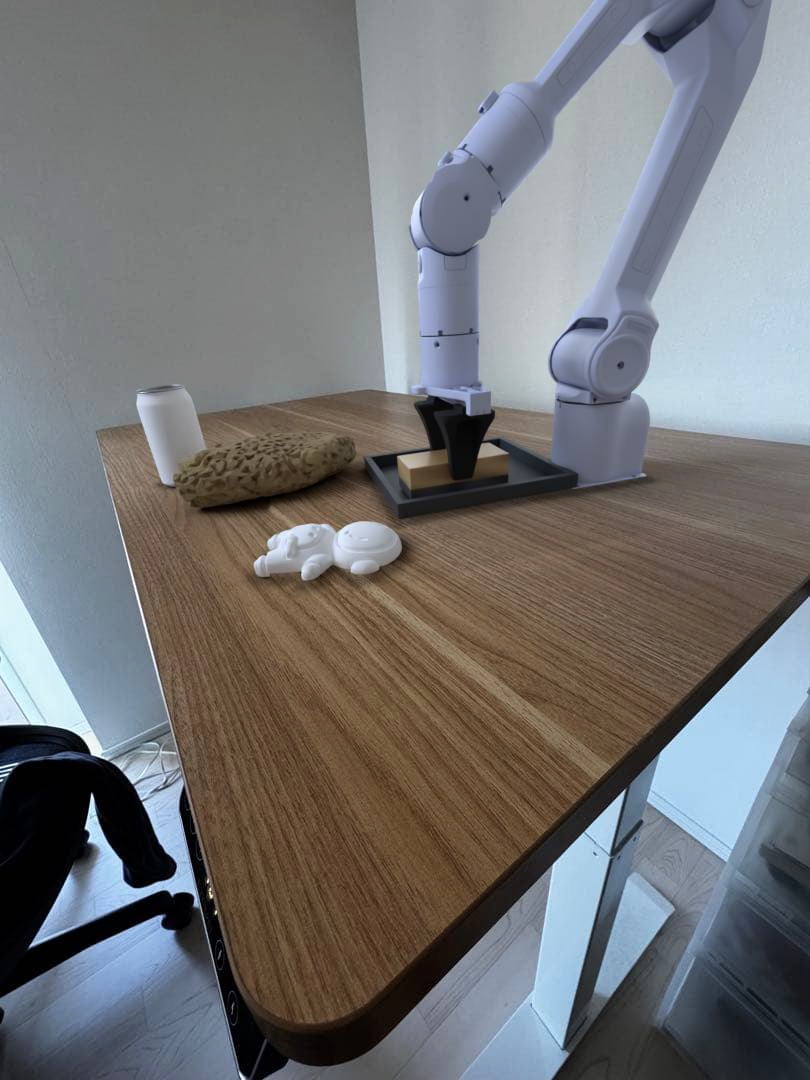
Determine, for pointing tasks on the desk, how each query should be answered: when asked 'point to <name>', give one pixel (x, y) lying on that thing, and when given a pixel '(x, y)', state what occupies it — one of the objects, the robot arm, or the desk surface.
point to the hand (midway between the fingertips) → (452, 470)
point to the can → (169, 427)
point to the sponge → (261, 467)
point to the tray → (524, 480)
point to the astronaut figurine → (329, 549)
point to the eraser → (434, 477)
